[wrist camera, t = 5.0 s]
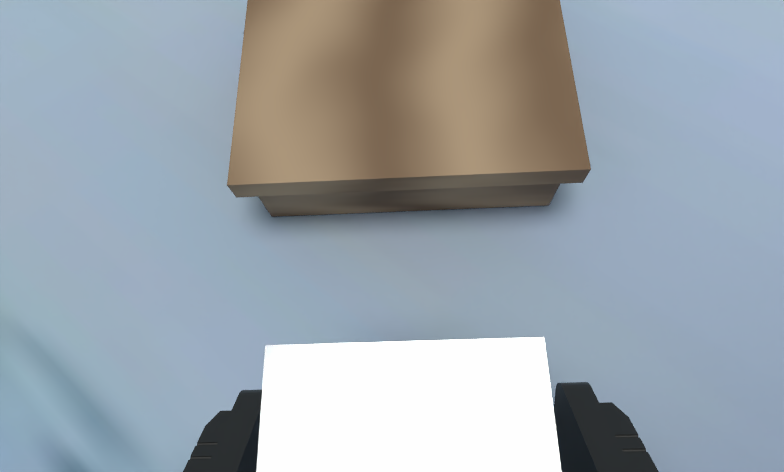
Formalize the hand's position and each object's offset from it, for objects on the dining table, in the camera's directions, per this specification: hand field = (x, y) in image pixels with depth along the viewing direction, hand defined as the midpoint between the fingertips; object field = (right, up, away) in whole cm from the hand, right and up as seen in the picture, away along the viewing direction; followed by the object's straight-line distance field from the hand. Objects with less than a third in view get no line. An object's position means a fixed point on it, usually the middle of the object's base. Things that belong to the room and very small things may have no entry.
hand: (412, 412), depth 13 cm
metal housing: (0, -4, +5) cm, 6 cm away
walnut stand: (0, +11, +11) cm, 16 cm away
